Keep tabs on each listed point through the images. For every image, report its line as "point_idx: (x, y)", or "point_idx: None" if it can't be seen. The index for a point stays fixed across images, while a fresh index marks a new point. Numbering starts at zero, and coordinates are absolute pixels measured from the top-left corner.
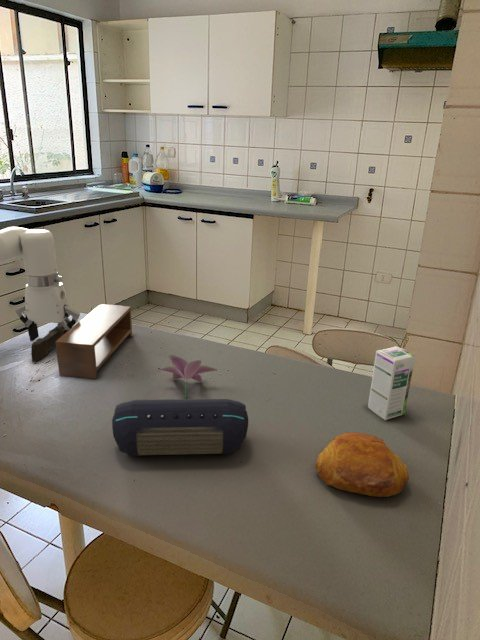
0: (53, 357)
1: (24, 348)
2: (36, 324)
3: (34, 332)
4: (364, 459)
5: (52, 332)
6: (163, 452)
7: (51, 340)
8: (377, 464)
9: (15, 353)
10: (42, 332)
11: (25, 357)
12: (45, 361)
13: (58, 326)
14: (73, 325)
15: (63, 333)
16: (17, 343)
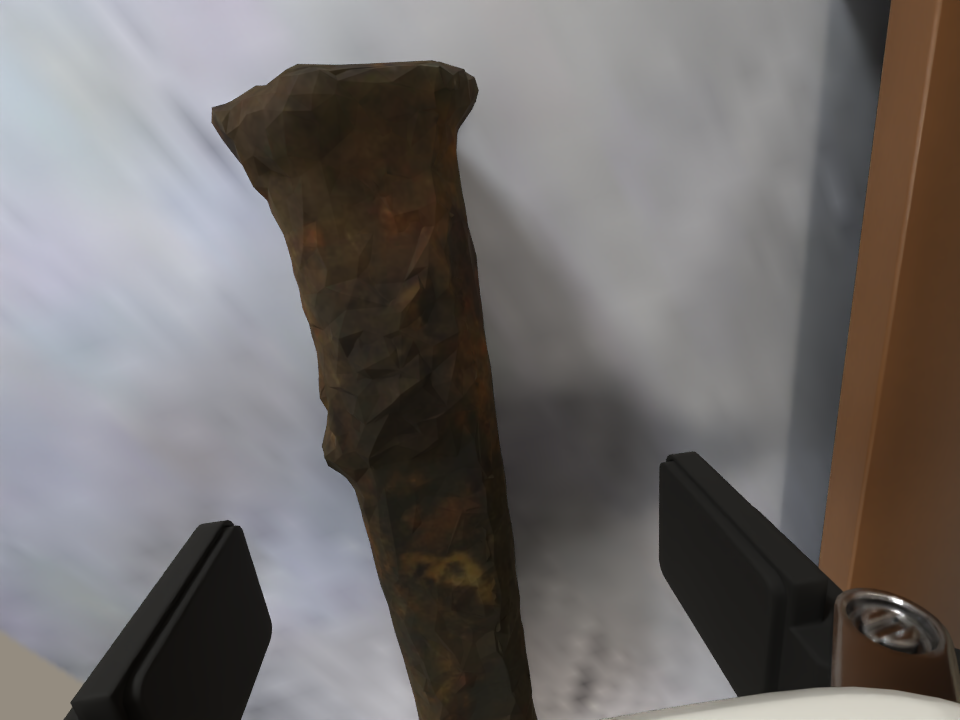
0: (582, 628)
1: None
2: (141, 694)
3: (222, 662)
4: None
5: (423, 513)
6: None
7: (523, 631)
8: None
9: None
10: (21, 174)
11: (362, 704)
12: (559, 693)
13: (371, 310)
14: (932, 640)
15: (730, 682)
16: (40, 541)
